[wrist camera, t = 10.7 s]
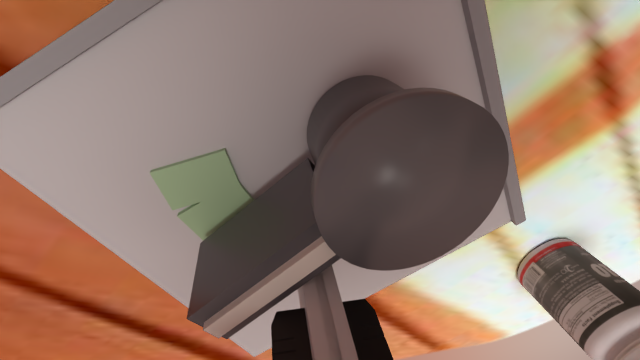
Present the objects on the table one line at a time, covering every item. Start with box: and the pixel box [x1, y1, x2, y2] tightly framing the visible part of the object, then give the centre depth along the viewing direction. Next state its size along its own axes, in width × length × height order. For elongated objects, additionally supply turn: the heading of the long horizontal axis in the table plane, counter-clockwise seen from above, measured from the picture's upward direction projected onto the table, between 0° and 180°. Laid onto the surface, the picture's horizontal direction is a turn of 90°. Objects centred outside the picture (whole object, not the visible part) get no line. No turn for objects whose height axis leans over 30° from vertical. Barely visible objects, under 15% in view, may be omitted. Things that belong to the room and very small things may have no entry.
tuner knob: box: [187, 75, 509, 339], centre depth 12 cm, size 11×6×5 cm, turn 127°
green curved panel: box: [150, 148, 367, 270], centre depth 15 cm, size 11×9×1 cm
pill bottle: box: [518, 239, 640, 360], centre depth 20 cm, size 5×5×8 cm
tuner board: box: [0, 0, 526, 357], centre depth 15 cm, size 18×18×2 cm
